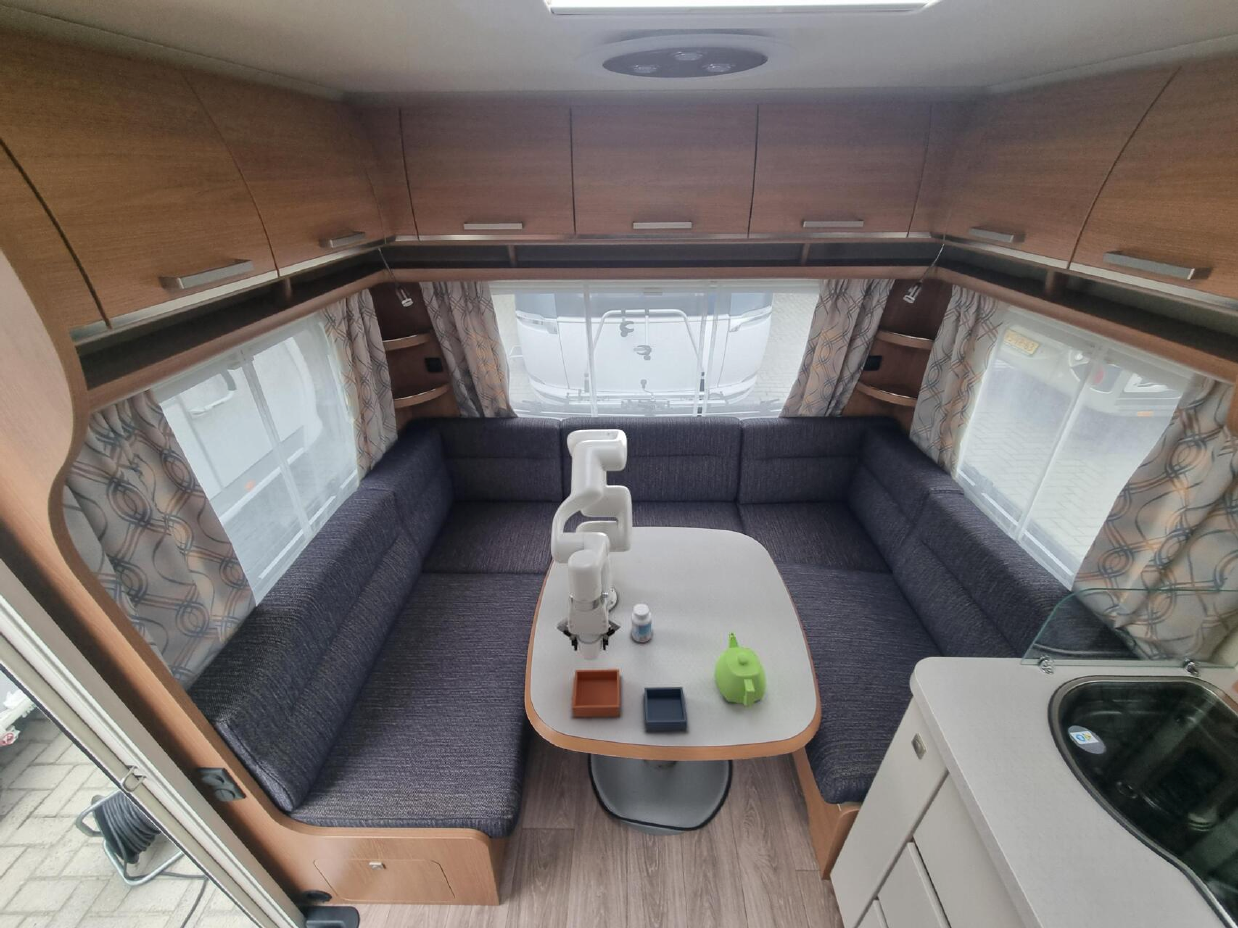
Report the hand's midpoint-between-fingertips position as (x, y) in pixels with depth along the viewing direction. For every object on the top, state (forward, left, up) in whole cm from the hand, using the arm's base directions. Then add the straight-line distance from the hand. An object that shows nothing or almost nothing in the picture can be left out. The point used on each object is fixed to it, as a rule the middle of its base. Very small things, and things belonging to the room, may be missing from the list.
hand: (590, 645), depth 126 cm
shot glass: (0, 0, -2) cm, 2 cm away
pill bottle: (-18, +14, -18) cm, 29 cm away
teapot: (0, +40, -18) cm, 44 cm away
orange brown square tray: (+3, +1, -18) cm, 18 cm away
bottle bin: (+8, +19, -18) cm, 27 cm away
